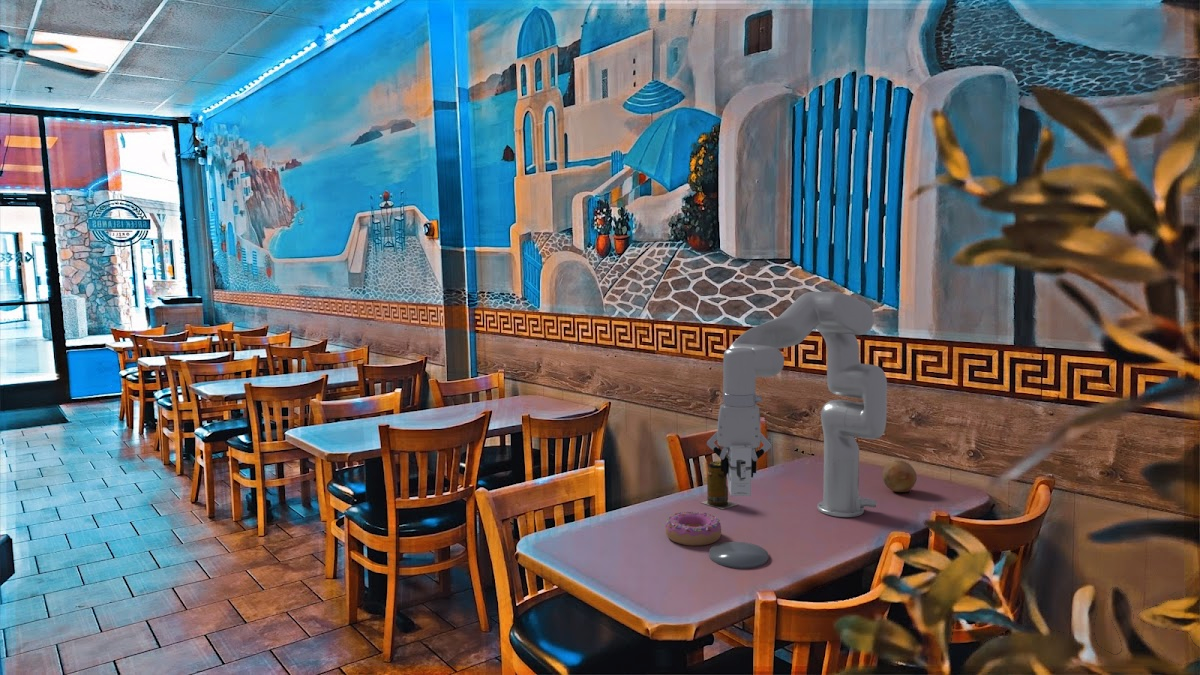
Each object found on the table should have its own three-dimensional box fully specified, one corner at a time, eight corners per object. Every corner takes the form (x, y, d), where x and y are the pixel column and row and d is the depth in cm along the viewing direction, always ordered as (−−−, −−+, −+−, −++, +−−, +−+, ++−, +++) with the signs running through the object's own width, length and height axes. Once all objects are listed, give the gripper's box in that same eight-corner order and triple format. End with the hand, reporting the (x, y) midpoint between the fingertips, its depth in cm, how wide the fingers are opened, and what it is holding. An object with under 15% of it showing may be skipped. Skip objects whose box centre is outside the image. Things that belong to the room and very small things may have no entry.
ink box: (725, 485, 184) (726, 438, 183) (745, 485, 184) (746, 438, 183) (730, 496, 176) (731, 447, 174) (751, 496, 175) (752, 447, 174)
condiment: (717, 497, 227) (717, 458, 225) (738, 504, 220) (739, 464, 219) (700, 503, 222) (700, 463, 221) (722, 510, 215) (722, 469, 214)
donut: (716, 550, 186) (717, 531, 185) (660, 545, 190) (660, 526, 190) (724, 530, 200) (724, 512, 199) (671, 525, 204) (671, 507, 203)
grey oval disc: (768, 547, 187) (768, 543, 187) (768, 570, 173) (768, 566, 173) (711, 543, 190) (711, 540, 190) (707, 565, 176) (707, 561, 176)
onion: (923, 494, 227) (924, 461, 226) (898, 498, 223) (899, 465, 222) (899, 485, 236) (900, 454, 235) (874, 489, 232) (875, 457, 231)
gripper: (776, 398, 179) (775, 472, 181) (703, 396, 183) (703, 469, 185) (776, 404, 172) (775, 481, 174) (701, 402, 176) (700, 477, 178)
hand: (738, 474), depth 179 cm, fingers closed on ink box, 5 cm apart
